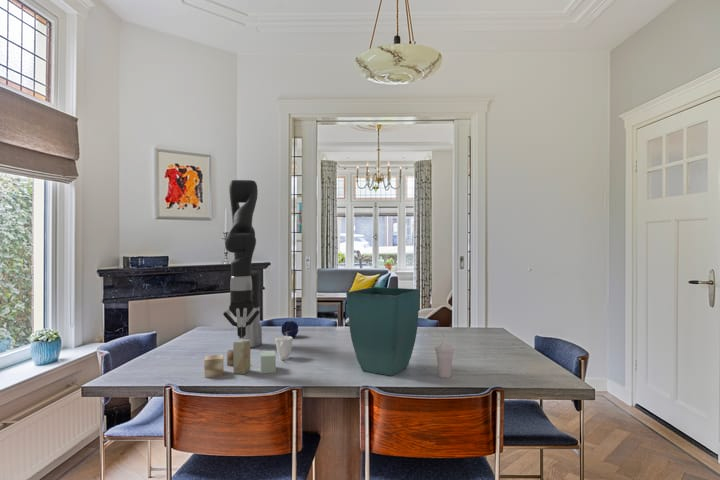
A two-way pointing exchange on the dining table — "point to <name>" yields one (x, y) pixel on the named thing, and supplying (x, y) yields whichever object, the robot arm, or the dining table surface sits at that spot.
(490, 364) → the dining table surface
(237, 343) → the box
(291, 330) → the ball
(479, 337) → the dining table surface
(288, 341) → the cup
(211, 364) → the beech cube
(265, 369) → the sage block
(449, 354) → the smoothie
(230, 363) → the walnut cylinder
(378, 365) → the flower pot
